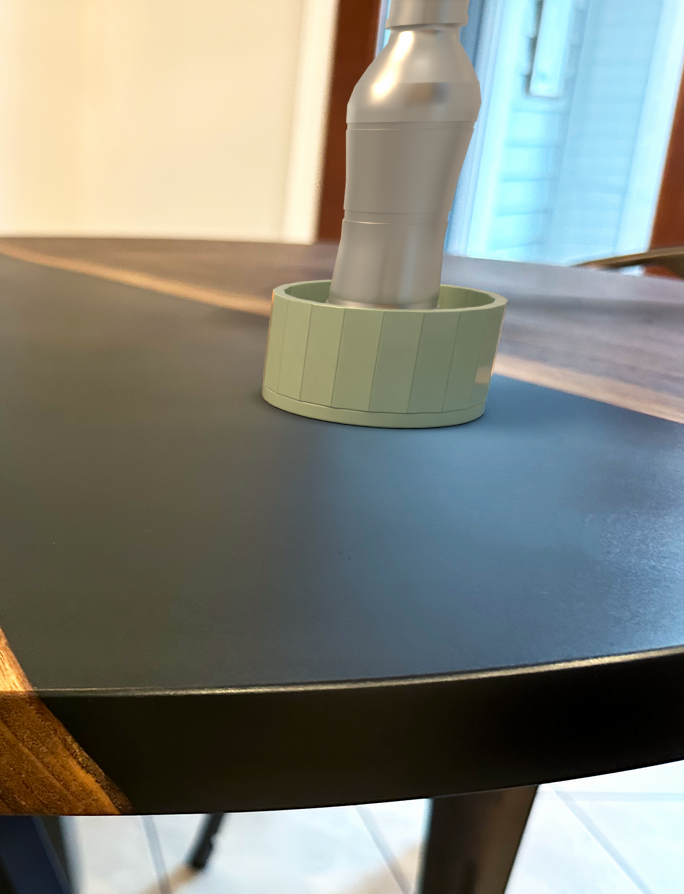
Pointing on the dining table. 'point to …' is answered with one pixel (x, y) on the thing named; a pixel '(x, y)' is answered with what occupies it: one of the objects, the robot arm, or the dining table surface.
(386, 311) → the round open container
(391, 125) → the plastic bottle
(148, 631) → the dining table surface
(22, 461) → the dining table surface
